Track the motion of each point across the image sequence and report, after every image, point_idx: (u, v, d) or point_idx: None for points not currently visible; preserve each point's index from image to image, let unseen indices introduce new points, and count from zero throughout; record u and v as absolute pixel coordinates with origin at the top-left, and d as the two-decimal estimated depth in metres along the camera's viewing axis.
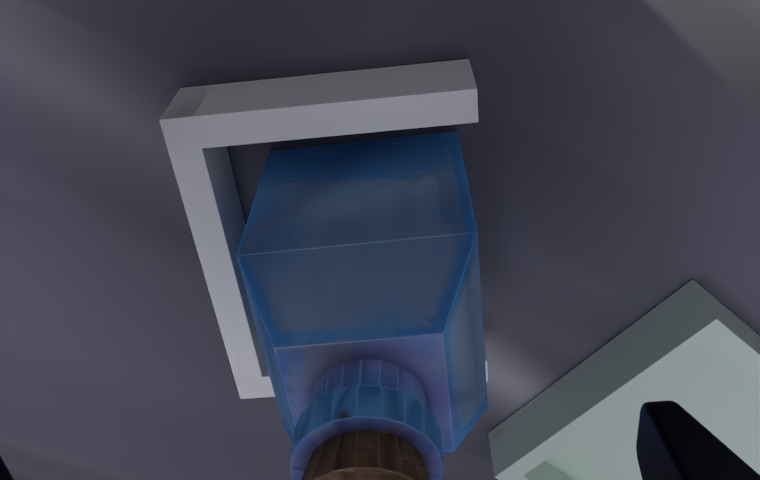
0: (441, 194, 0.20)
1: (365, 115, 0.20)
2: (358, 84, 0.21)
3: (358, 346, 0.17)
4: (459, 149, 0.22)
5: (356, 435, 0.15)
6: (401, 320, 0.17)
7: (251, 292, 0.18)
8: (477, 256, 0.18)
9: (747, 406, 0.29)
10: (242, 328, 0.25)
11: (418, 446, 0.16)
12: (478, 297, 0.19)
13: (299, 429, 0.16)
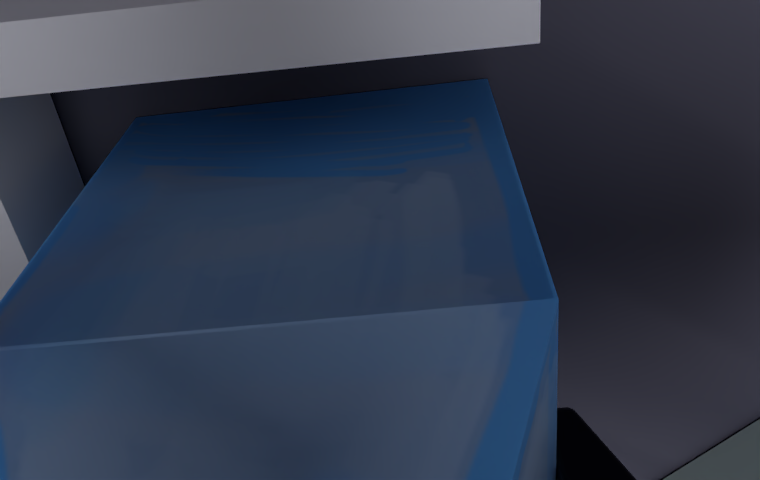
0: (462, 200, 0.09)
1: (295, 27, 0.09)
2: None
3: None
4: (493, 110, 0.11)
5: None
6: None
7: None
8: (555, 357, 0.07)
9: None
10: None
11: None
12: (552, 447, 0.08)
13: None
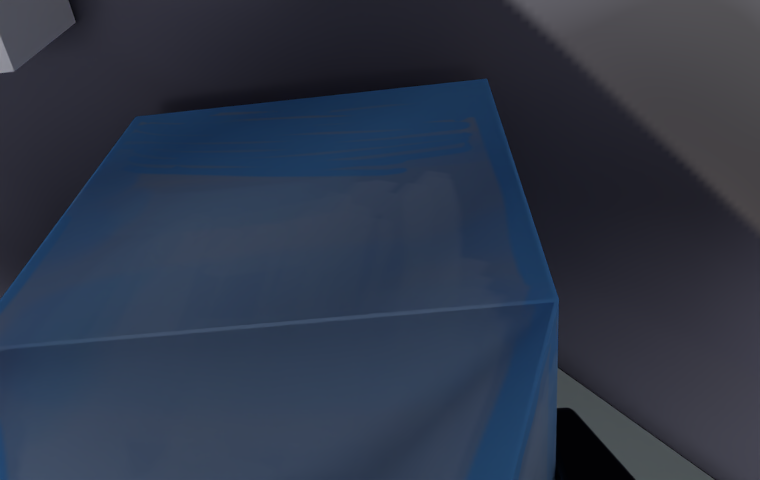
0: (462, 200, 0.09)
1: None
2: None
3: None
4: (493, 111, 0.11)
5: None
6: None
7: None
8: (555, 357, 0.07)
9: None
10: None
11: None
12: (551, 447, 0.08)
13: None
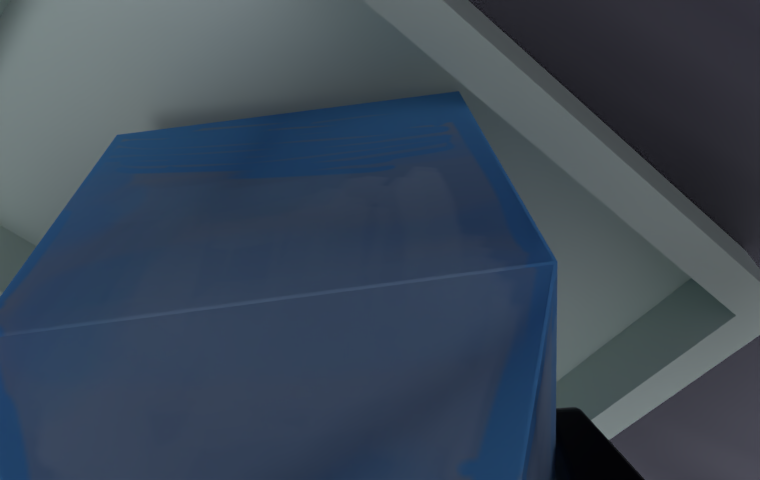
0: (452, 188, 0.09)
1: None
2: None
3: None
4: (469, 116, 0.12)
5: None
6: None
7: None
8: (555, 319, 0.08)
9: (348, 70, 0.14)
10: None
11: None
12: (553, 412, 0.08)
13: None
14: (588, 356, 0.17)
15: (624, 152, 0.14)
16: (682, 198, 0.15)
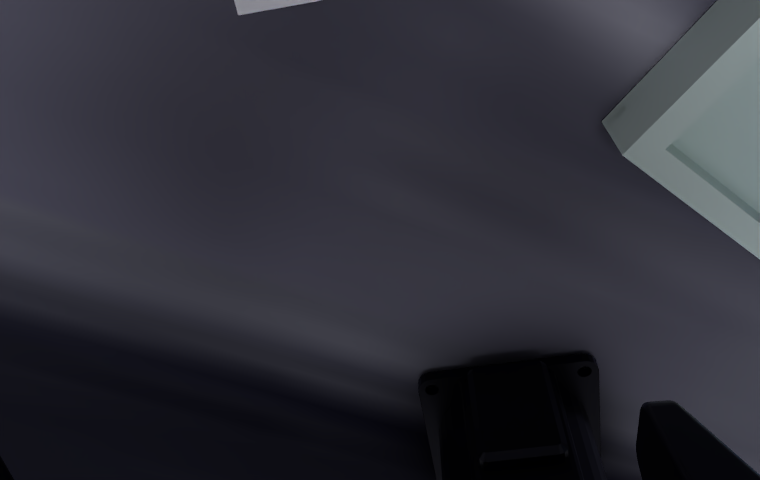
0: None
1: None
2: None
3: None
4: None
5: None
6: None
7: None
8: None
9: None
10: None
11: None
12: None
13: None
14: None
15: None
16: None
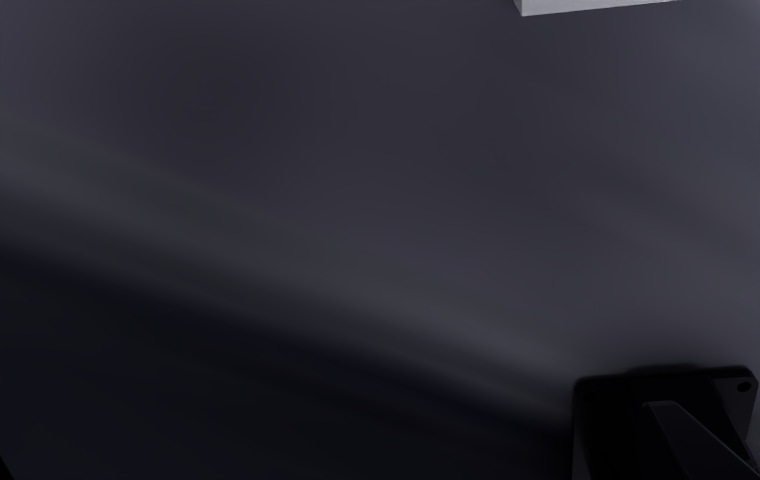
0: None
1: None
2: None
3: None
4: None
5: None
6: None
7: None
8: None
9: None
10: None
11: None
12: None
13: None
14: None
15: None
16: None
